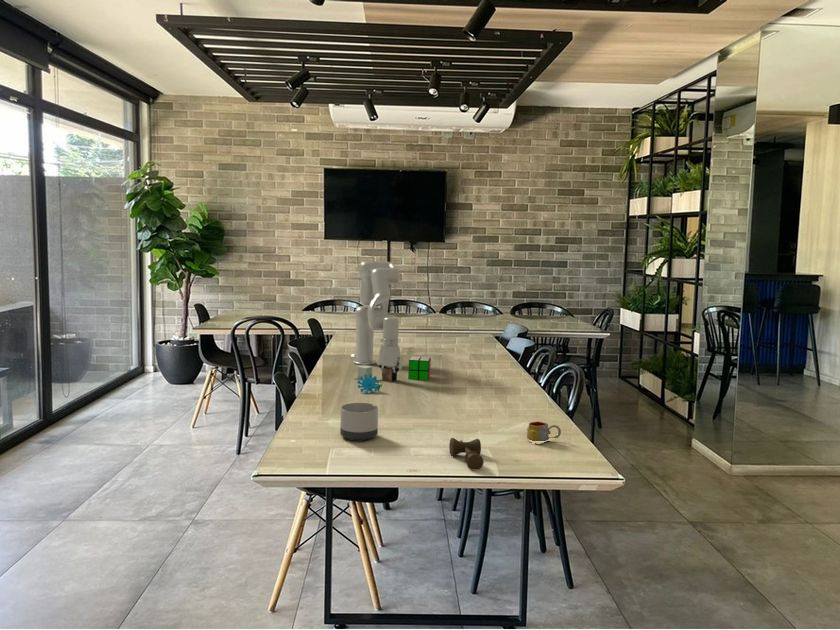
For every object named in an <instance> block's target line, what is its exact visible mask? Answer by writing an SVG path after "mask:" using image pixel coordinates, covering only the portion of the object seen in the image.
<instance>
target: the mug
mask: <svg viewBox="0 0 840 630" xmlns="http://www.w3.org/2000/svg"><path fill="white" fill-rule="evenodd" d="M552 428H555V429H557V434H556V435H555V436H553V437H550V436H549V435H551V434H552V433H551V429H552ZM526 431H527V432H526V440H527V439H529V440H532V441H546V440H548V439H549V438H557V439H559V437H560V436H561V433H562V430H561V428H560V427H559V426H558V425H556V424H551V425H550V426H549V424H548V422H547V423H546V422H545V421H544V422H543V421H537V420H536V421H533V422H529V423H528V426H527V427H526Z"/></svg>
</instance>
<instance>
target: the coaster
mask: <svg viewBox="0 0 840 630" xmlns="http://www.w3.org/2000/svg"><path fill="white" fill-rule="evenodd" d="M378 380H379V382H383V383H384V382H385V383H390V384H392V383H396V382H399V381H401V379H397V380H395V381H392V382H388V381H382V378H381V379H378Z"/></svg>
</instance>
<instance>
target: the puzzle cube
mask: <svg viewBox="0 0 840 630" xmlns="http://www.w3.org/2000/svg"><path fill="white" fill-rule="evenodd" d="M431 359H432V358H431V357H429V356H410V358H409V360H408V377H407V378H408V380H419V381H429V380H430V377H431V364H432V363H431V361H432V360H431Z"/></svg>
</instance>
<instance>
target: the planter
mask: <svg viewBox="0 0 840 630" xmlns="http://www.w3.org/2000/svg"><path fill="white" fill-rule="evenodd" d="M339 423H340V428H339V429H340V430H339V433H340V435H341V436H342V437H343V438H346V439H348V440H350V439H351V441H356V440H362V441H366V440H367V439H368V440H370V439H373V438H375V437H376V436H378V434H379V406H378V405H376V404H373V403H368V402H350V403H345V404H343V405H341V406H340V422H339ZM368 440H367V441H368Z"/></svg>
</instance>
